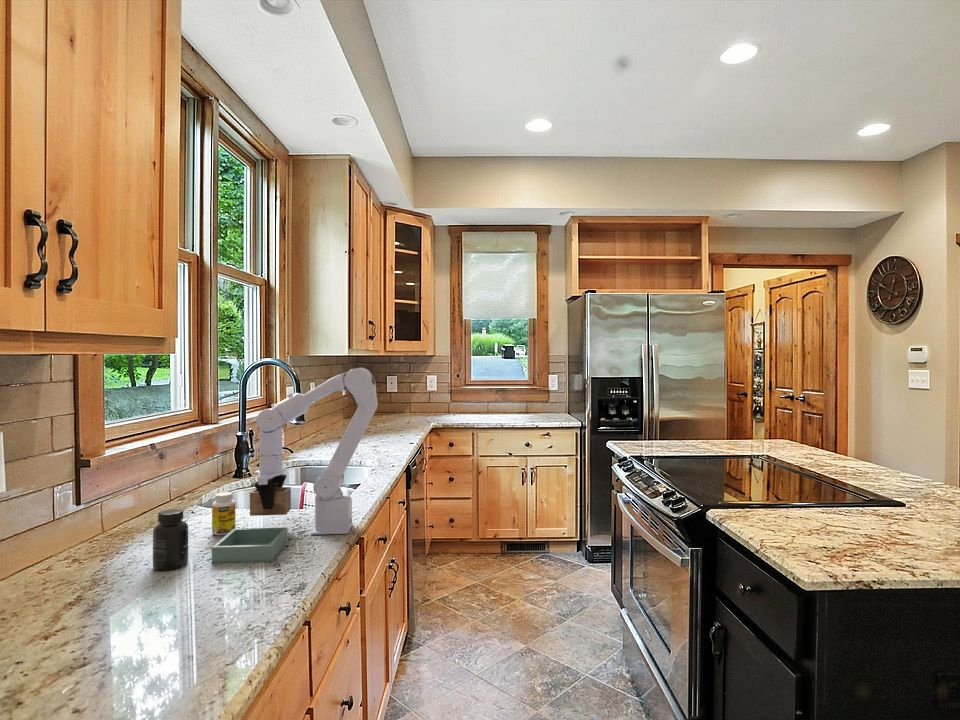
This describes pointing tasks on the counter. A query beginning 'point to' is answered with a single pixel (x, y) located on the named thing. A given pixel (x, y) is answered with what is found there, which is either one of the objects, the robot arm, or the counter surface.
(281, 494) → the walnut crate
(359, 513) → the counter surface
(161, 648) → the counter surface
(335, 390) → the robot arm
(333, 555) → the counter surface
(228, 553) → the green crate
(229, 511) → the supplement bottle
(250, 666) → the counter surface
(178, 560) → the supplement bottle
